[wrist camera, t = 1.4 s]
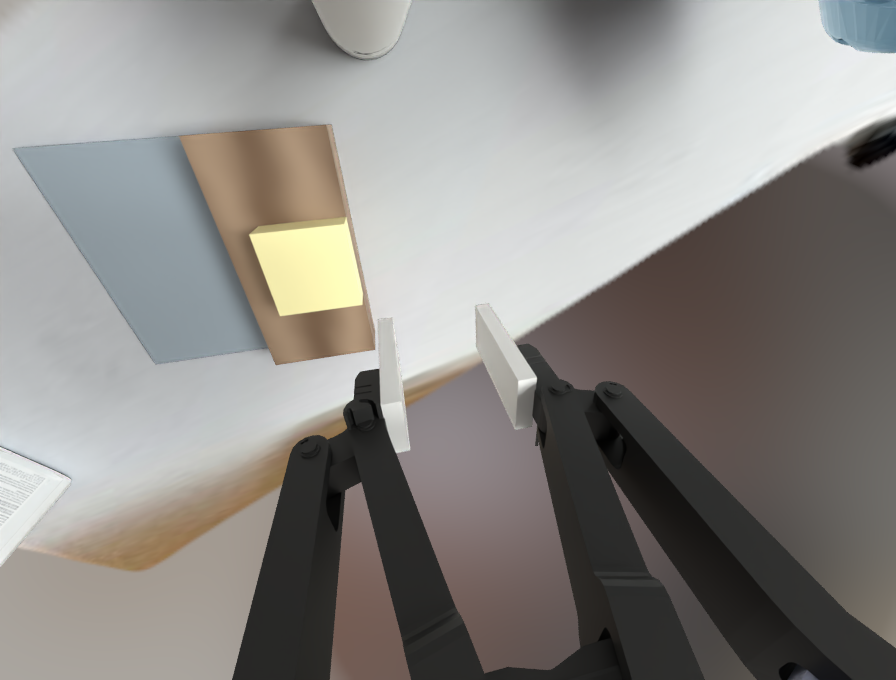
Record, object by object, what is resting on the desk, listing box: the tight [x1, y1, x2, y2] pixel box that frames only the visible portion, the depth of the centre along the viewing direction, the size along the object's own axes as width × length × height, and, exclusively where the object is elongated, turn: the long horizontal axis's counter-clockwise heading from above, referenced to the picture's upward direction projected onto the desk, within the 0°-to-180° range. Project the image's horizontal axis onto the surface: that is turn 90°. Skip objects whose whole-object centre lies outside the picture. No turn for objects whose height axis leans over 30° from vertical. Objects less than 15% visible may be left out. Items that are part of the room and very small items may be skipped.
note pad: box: [249, 217, 363, 316], centre depth 29 cm, size 7×7×2 cm
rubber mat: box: [12, 136, 268, 364], centre depth 32 cm, size 13×20×1 cm, turn 3°
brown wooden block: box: [179, 125, 375, 365], centre depth 31 cm, size 10×20×4 cm, turn 3°
